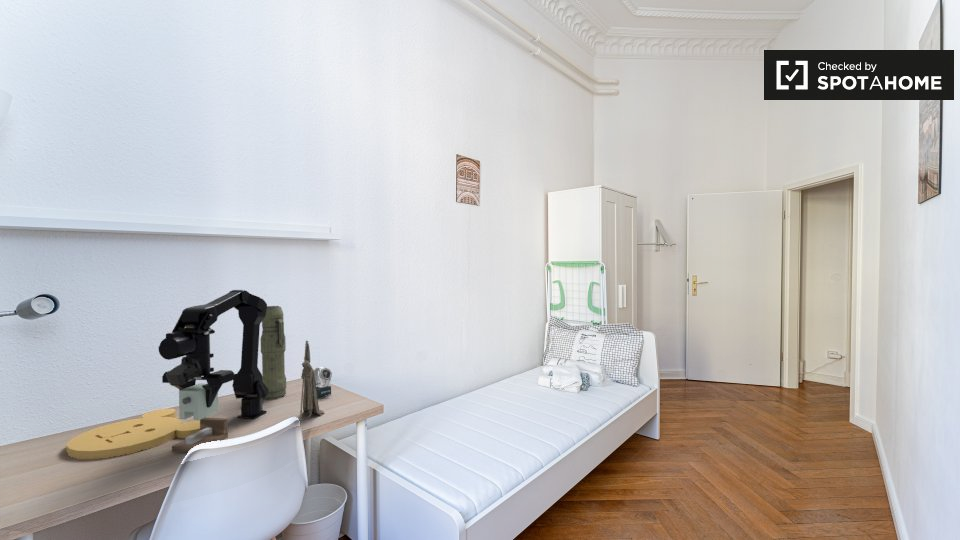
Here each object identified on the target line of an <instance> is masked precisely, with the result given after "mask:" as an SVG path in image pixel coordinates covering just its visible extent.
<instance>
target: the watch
mask: <svg viewBox="0 0 960 540" xmlns="http://www.w3.org/2000/svg"><path fill="white" fill-rule="evenodd" d="M313 370H314V375H315V381H316V390H317V397H318V399H320V397H321V398H323V396H324V397H326V396H325V395H327V396H329V395H328V394H331V395H332V386H331V385H330V382H331V380H332V376H333V372H332V371H331V369H329V368H327V367H326V366H319V367H315V368H314V369H313ZM321 380H322V382H323V384H322V382H321Z"/></svg>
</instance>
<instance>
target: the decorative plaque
mask: <svg viewBox="0 0 960 540" xmlns="http://www.w3.org/2000/svg"><path fill="white" fill-rule="evenodd" d="M176 411H177V410H176V409H175V408H161V409H156V410H151V411H148V412H146V413H144V414H141V417H139V418H135V419H134V418H133V419H128V420H122V421H118V422H117V421H116V422H113V423H109V424H105V425H103V426H99V427H95V428H93V429H90V430H89V429H88V430H87V431H83V432H82V433H80V434H77V435H75V436H74V437H73V438H70V440H69V441H68V442H67V443H66V454H67V453H68V454H67V456H68V455H69V456H70V457H69V456H68V457H69V458H72V457H73V458H72V459H75V458H76V460H98V459H99V460H101V459H100V458H102V459H109V457H111V458H114V457H113V456H116V457H120V455H122V456H126V455H125V454H127V455H132V454H134V453H139V452H142V451H141V450H143V451H145V449H146V450H149V448H150V449H153V448H154V447H157V445H158V446H160V445H159V444H161V445H163V444H165V442H166V443H167V442H170V441H172V440H174V439H175V438H177V437H178V438H177V439H186V437H188V436H190V435H192V434H194V433H196V432H198V431H200V420H191V421H186V422H183V421H182V419H180V418H178V417H177V412H176ZM175 417H176V418H175ZM174 437H175V438H174ZM162 443H163V444H162ZM138 451H139V452H138ZM131 453H132V454H131Z"/></svg>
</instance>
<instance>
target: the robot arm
mask: <svg viewBox="0 0 960 540" xmlns="http://www.w3.org/2000/svg"><path fill="white" fill-rule="evenodd" d="M267 306H268V304H267V302H266V301H265V300H264V298H262V297H260V296H258V295H254V294H252V293H250V292H249V291H247V290H245V289H232V290H230V291H229V292H228V293H226V294H223V295H221V296H219V297H217V298H215V299H214V300H212V301H210V302H208V303H205V304H201V305H193V306H188V307H186V308H185V309H183V310H182V311H181V314H180V316H179V317H178V320H177V322H176V323H175V326H174V328H173V329H172V331H171V332H167V333H165V338H164V339H162V340H161V341H160V343H159V346H158V352H159V355H160V356H161V357H162V359H165V360H174V359H177V358H181V361H180V364H179V365H176V366H175V367H174V368H172V369H170V370H168V371H165V372H164V373H163V374H162V378H161V381H162V383H163V384H164V383H165V384H169V385H170V386H172V387H174V388H177V389H178V391H179V390H182V389H185V388H188V387H191V386H194V385H196V381H206V383H204V384H205V385H202V387H203V388H204V389H205V391H206V405H207V408H209V407H211V405H212V403H213V401H214V399H215V397H216V395H217V393H218V394H219V391H220V389H221V388H222V386H223V384H226V383H230V382H232V390H233V393H234V396H235V399H236V400H238V399H241V400H240V401H241V403H240V414H238V415H237V416H236V417H237V418H239V419H240V418H241V419H243V418H244V419H256V418H258V417H260V416H262V415H263V414H265V413H267V410H263V398H265V397H266V396H267V395H268V388H267V387H266V385H265V384H264V383H263V382H262V373H261V372H262V371H260V369H259V366H258V365H259V362H258V361H259V345H260V327H261V324H262V321H263V319H264V318H265V316H266V310H267ZM233 308H234V309H236V310H237V311H238V318H239V320H240V322H241V323H242V326H243V327H242V343H241V357H240V358H241V360H240V367H239V368H240V369H239V370H238V371H237V373H235V372H234V371H233V370H228V369H221V370H217V371H215V367H211V358H214V353H211V339H210V338H211V336H210V335H212V334H215V333H216V331H215V330H214V329H212V328H211V326H213V325H214V324H215V323H216V322H217V321H218V317H219V316H220V315H222V314H225V312H228V311H229V310H231V309H233Z"/></svg>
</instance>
